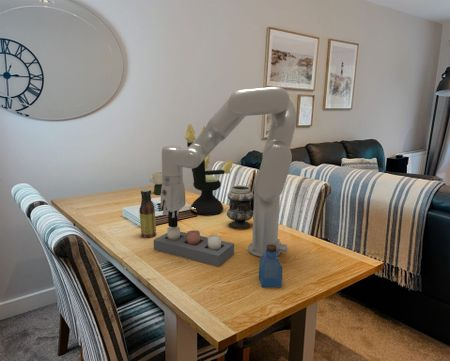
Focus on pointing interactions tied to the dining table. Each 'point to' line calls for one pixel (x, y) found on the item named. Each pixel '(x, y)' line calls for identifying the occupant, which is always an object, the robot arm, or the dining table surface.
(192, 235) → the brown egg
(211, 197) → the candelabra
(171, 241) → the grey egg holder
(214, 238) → the near knob
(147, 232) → the sauce bottle
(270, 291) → the dining table surface
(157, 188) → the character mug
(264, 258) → the perfume bottle
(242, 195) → the apothecary jar
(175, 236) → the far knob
